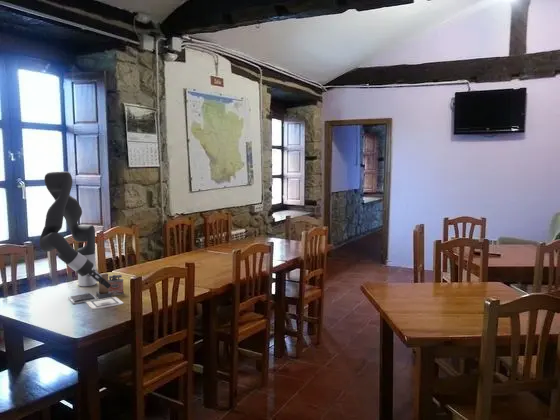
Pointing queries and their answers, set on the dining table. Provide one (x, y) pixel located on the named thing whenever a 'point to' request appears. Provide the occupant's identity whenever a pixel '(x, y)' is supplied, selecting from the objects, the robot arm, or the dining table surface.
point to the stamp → (103, 288)
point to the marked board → (104, 303)
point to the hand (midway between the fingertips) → (108, 285)
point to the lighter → (116, 285)
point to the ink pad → (82, 298)
